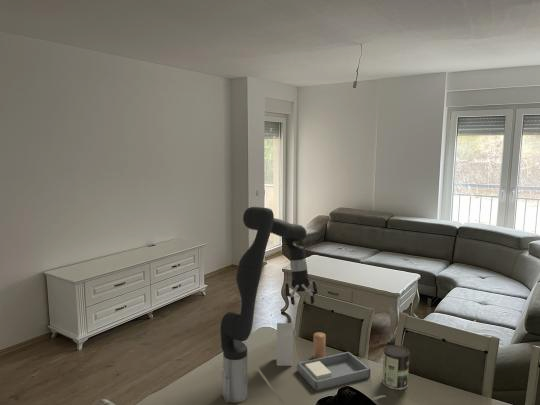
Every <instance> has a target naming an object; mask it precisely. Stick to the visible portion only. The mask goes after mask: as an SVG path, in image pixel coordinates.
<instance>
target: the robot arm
mask: <svg viewBox="0 0 540 405" xmlns="http://www.w3.org/2000/svg"><path fill="white" fill-rule="evenodd" d="M274 216H275V214H274V212H273V210H272V209H271V208H269V207H262V206H250V207H248V208H246V209H245V211H244V212H243V217H242V221H243V224H244V226H245V227H246V228H247V229H248V230H253V231H256V235H255V239H254V241H253V242H252V244H251V245H250V246H249V248H248V249H247V250H246V251H245V252H244V254H243V255H242V256H241V258H240V260H239V263H238V267H237V270H236V276H235V280H236V285H237V288H238V292H239V295H240V298H241V300H240V301H241V304H240V305H241V306H240V313H236V312H233V311H229V312H228V311H227V312H226V313H225V314H224V315H223V317H222V318H221V322H220V342H221V343H220V344H221V346H220V347H221V350H222V352H223V353H222V354H223V357H222V360H223V362H222V364H223V366H222V368H223V371H222V372H221V395H222V397H223V399H224V401H225V402H226V403H231V404H234V403H235V404H236V403H241V402H243V401H245V400H247V398H248V347H247V345H246V344H245V343H244V342H245V341H247V340H248V339H249V337H250V335H251V333H252V328H253V324H254V314H255V307H256V306H255V305H256V300H257V293H258V288H259V285H260V280H261V276H262V271H263V265H264V259H265V254H266V250H267V246H268V243H269V240H270V237H271V234H273V235H275V236H278V237H280V238H283V239H284V242H285V243H286V247H287V249H288V252H289V260H290V261H289V266H290V274H291V282H288V281H287V282H286V283H285V296H286V297H289V298H290V302H291V303H290V304H291V305H292V306H295V305H296V301H295V300H296V299H295V294H296V292H297V293H300V292H307V293H308V294H309V295H310V304H311V305H314V303H315V295H317V294H318V287H317V282H316V280H315V279H313V280H311V281H310V280H309V273H308V265H307V259H306V254H305V247H304V246H302V245H298V244H296V242H301V241H302V242H303V240H305V239H306V237H307V229H306V228H305V226H303V225H300V224H297V223H290V222H288V221H285V220H282V219H280V218H275V217H274ZM309 286H312V288H313V291H312V289H311V288H310V287H309ZM291 287H292V288H293V291H291V292H290V288H291Z"/></svg>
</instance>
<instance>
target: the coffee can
mask: <svg viewBox="0 0 540 405" xmlns="http://www.w3.org/2000/svg"><path fill="white" fill-rule="evenodd" d="M410 354H411V353H410V350H409V349H408V348H406V347H404V346H402V345H396V344H389V345H386V346H384V347H383V356H382V357H383V362H382V364H383V365H382V384H383V385H384V386H386V387H387V388H389V389H392V390H405V389H407V387H408V386H409V382H408V381H409V367H410V365H409V364H410Z"/></svg>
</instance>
